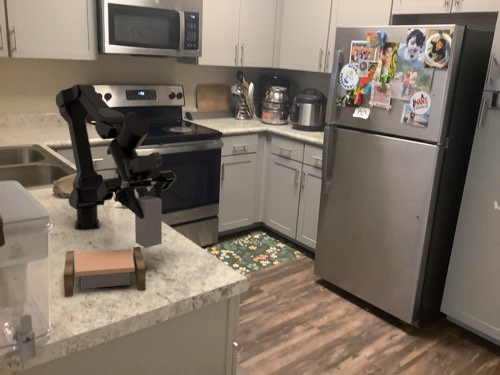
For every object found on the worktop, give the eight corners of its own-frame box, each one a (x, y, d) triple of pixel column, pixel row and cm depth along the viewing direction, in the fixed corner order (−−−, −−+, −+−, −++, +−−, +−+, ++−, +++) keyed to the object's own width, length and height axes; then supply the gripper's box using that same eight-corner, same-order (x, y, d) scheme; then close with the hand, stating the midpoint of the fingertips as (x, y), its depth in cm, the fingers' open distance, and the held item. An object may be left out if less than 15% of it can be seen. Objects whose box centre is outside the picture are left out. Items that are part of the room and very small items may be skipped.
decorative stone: (100, 196, 163) (99, 173, 161) (56, 200, 156) (55, 176, 153) (94, 189, 170) (93, 168, 168) (52, 193, 162) (50, 170, 160)
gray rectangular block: (135, 242, 110) (134, 198, 107) (151, 238, 113) (151, 195, 110) (145, 248, 107) (145, 202, 104) (161, 243, 110) (161, 199, 107)
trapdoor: (77, 268, 106) (76, 252, 105) (131, 264, 110) (131, 249, 109) (75, 289, 97) (75, 271, 96) (134, 284, 101) (134, 267, 100)
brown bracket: (67, 271, 107) (66, 251, 105) (140, 266, 112) (140, 246, 110) (64, 296, 96) (63, 274, 94) (145, 289, 101) (145, 268, 100)
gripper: (102, 144, 100) (128, 206, 96) (173, 138, 113) (199, 193, 108) (86, 171, 108) (109, 230, 103) (154, 162, 120) (178, 215, 116)
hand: (151, 216), depth 107 cm, fingers closed on gray rectangular block, 4 cm apart
